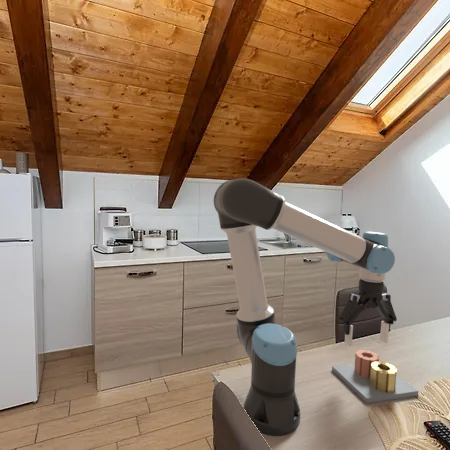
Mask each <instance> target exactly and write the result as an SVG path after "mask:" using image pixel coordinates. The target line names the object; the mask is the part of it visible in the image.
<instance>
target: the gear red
mask: <svg viewBox="0 0 450 450" xmlns="http://www.w3.org/2000/svg"><path fill="white" fill-rule="evenodd" d="M354 355H355V356H354V357H355V359H354V364H355V370H354V371H355V372H356V373H357V374H358V375H361V376H362V377H366V378H368V377H369V378H370V372H371V364H372V363H373V362H376V361H379V362H380V355H379V354H377V353H375V352H373V351H372V350H367V349H365V350H364V349H358V350H356V351H355V354H354ZM364 356H367V357H364ZM368 357H369V358H368Z"/></svg>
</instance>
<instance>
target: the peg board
mask: <svg viewBox="0 0 450 450" xmlns="http://www.w3.org/2000/svg"><path fill="white" fill-rule="evenodd" d="M364 357H367V356H364ZM368 358H369V357H368ZM354 370H355V363H349V364H339V365H332V366H331V371H332V372H333V373H334V374H335V375H337V377H338V378H340V380H342V381H343V383H345V384H346V386H348V387H349V388H350V389H351V390H352V391H353V392H354V393H355V394H356V395H357V396H358V397H359V398H360V399H362V401H364V403H366V404H370V403H371V404H372V403H378V402H385V401H390V400H397V399H405V398H412V397H417V395H418V396H419V390H418V389H416V388H415V387H414V386H413V385H411V384H409V382H407V381H406V380H404V378H403V379H402V378H401V377H400V376H399V375H397V374H396V387H395V391H394V392H391V393H387V392H381V391H378V390H377V389H374V388H373V387H372V386H371V385H370V378H369V377H368V378H366V377H362V376H361V375H358V374H357V373H356V372H355V371H354ZM382 370H385V369H382Z"/></svg>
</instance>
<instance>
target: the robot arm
mask: <svg viewBox="0 0 450 450" xmlns="http://www.w3.org/2000/svg"><path fill="white" fill-rule="evenodd" d="M213 195H214V196H213V206H214V209H215V212H217V215H218V220H219V225H220V231H221V230H222V231H223V232H224V233H225V234H226V236H227V242H228V249H229V254H230V259H231V260H230V261H231V265H232V271H233V276H234V282H235V287H236V292H237V293H236V294H237V298H238V305H239V309H238V311H237V312H236V315H235V316H236V321H237V323H236V334H237V335H236V336H237V338H238V339H239V342H240V343H241V345H242V347H243V348H244V350H245V352H246V354H247V356H248V358H249V360H250V362H251V376H250V379H251V380H250V387H249V390H248V392H247V395H246V397H245V400H244V404H243V410H244V409H245V410H246V412H247V414H248V415H249V417H250V418H251V420H252V421H253V422H254V424H255V425H256V427H257V428H258V430H259V431H260V433H262V434H266V435H269V436H270V435H271V436H283V435H284V436H285V435H289V434H291V433H292V432H294V431H296V429H297V428H298V427H299V425H300V424H301V423H300V422H301V408H300V405H299V402H298V398H297V394H296V392H295V391H296V390H295V389H296V388H295V386H296V372H297V371H296V368H297V355H298V345H297V339H296V336H295V334H294V332H293V331H291V330H290V329H289V328H288V327H286V326H282V325H280V324H278V323H277V321H276V316H275V309H274V308H273V306H272V305H270V304H268V299H267V298H268V297H267V292H266V286H265V285H266V284H265V280H264V273H263V268H262V263H261V255H260V250H259V243H258V238H257V231H256V228H257V227H259V228H262V229H263V230H267V231H269V230H272V229H273V230H276V231H279V232H280V233H282V234H285V235H287V236H290V237H292V238H294V239H296V240H298V241H300V242H303V243H305V244H307V245H310V246H312V247H315V248H317V249H319V250H322V251H324V252H325V254H326V256H327V258H328V259H329V261H331V262H338V263H340V262H343V263H348V264H350V265H352V266H354V267H355V266H356V267H358V268H359V273H358V274H359V279H358V286H357V287H358V291H359V292H358V294H355V293H349V298H348V300H347V303H346V304H345V307H344V308H343V310H342V312H341V314H340V316H339V317H338V322H340V323H342V324H343V334H344V343H345V344H346V345H348V346H349V347H350V346H352V345H353V334H354V333H353V331H354V325H352V324H353V323H354V321H356V319H357V318H358V316H360V314H361V313H362V312H364V311H365V310H366V309H369V310H370V309H376V310H377V312H378V314H379V315H380V317H381V318H382V319H383V320H381V322H380V333H379V334H380V335H379V340H380V341H382V342H383V343H384V344H388V343H389V333H390V332H391V326H392V325H394V323H395V322H397V316H396V313H395V311H394V306H393V305H392V304H393V303H392V302H391V294H388V293H387V292H384V290H385V282H384V280H385V278H386V273H387V274H388V272H390V271H391V270H392V269H393V267H394V264H395V262H396V257H395V254H394V252H393V251H392V249H391V248H390V247H389V236H388V235H387V234H386V233H385V232H384V233H383V232H377V231H365V232H363V234H362V236H359V235H358V234H355V233H353V232H351V231H349V230H347V229H345V228H342V227H339V226H338V225H336V224H333V223H332V222H329V221H327V220H325V219H323V218H321V217H319V216H317V215H314V214H312V213H310V212H308V211H306V210H303V209H302V208H299V207H297V206H295V205H293V204H291V203H288V202H286V200H285V197H284V196H283V195H282V194H279V193H277V192H275V191H273V190H271V189H269V188H268V187H266V186H264V185H262V184H260V183H259V182H256V181H254V180H252V179H249V178H245V177H242V178H235V179H230V180H226V181H224V182H223V183H221V184H220V185H219V186H218V188H217V189H216V190H215V193H214V194H213ZM382 302H383V304H382ZM259 431H258V432H259Z"/></svg>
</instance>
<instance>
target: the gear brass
mask: <svg viewBox="0 0 450 450" xmlns="http://www.w3.org/2000/svg"><path fill="white" fill-rule="evenodd" d="M382 369H385V370H382ZM397 371H398V368H396V366H394V365H393V364H389V363H388V362H385V361H380V360H379V361H376V362H373V363H372V364H371V372H370V385H371V386H372V387H373V388H374V389H377V390H378V391H381V392H387V393H391V392H394V391H395V387H396V375H397Z"/></svg>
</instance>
